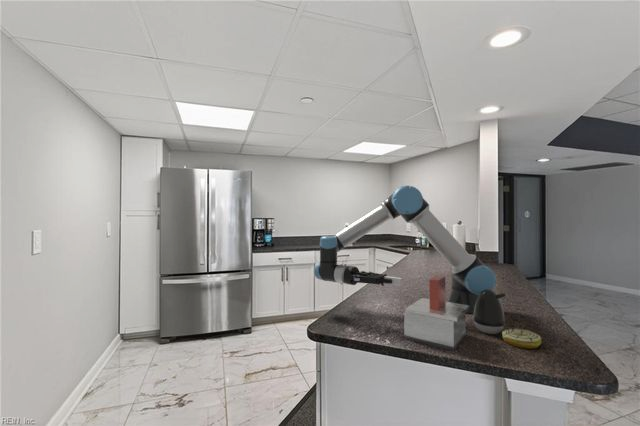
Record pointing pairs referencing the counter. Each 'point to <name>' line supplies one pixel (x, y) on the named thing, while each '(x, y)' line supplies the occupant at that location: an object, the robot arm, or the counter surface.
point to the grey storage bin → (434, 330)
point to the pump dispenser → (489, 312)
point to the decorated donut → (521, 338)
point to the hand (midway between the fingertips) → (401, 282)
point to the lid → (438, 303)
